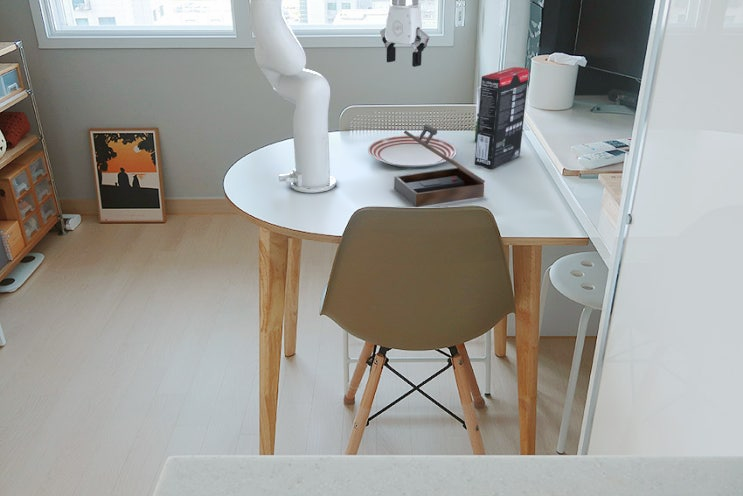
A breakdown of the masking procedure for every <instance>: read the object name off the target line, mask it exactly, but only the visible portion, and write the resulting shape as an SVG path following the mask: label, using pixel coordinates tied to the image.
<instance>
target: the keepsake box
mask: <svg viewBox="0 0 743 496" xmlns="http://www.w3.org/2000/svg"><path fill="white" fill-rule="evenodd" d="M452 176H457V177H458V178H460V179H461V180H463V181H464V186H461V187H454V188H448V189H441V190H434V191H428V192H421V193H417V192H416V191H415V190H413V189H412V188H411V187H410V186H408V185H407V184H406V183H410V182H417V181H424V180H431V179H438V178H445V177H452ZM393 189H394V190H395V191H396V192H398V194H399V195H401V196H402V197H403V198H405V199H406V200H407V201H408V202H409V203H410V204H411V205H412V206H414V207H415V208H421V207H427V206H433V205H440V204H445V203H447V204H448V203H452V202H458V201H459V202H460V201H464V200H472V199H478V198H483V197H484V194H485V183H484V184H483V183H482V182H480V181H478V180H477V179H475V178H474V177H472V176H470V175H469V174H467V173H466V172H464V171H462V170H461V169H459V168H458V167H451V168H443V169H437V170H429V171H422V172H421V171H420V172H415V173H408V174H401V175H394V177H393Z"/></svg>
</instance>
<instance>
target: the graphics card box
mask: <svg viewBox="0 0 743 496" xmlns="http://www.w3.org/2000/svg"><path fill="white" fill-rule="evenodd" d="M529 73H530V69H529V68H526V67H519V66H512V67H508V68H505V69H502V70H499V71H496V72H492V73H489V74H485V75H482V76H481V81H480V86H481V92H480V104H479V116H478V128H477V141H476V142H475V154H474V165H475V166H479V167H482V168H485V169H489V170H494V169H495V168H498V167H501V166H502V165H505V164H507V163H509V162H511V161H514V160H515V159H517V158H520V156H521V155H520V154H521V148H522V147H521V146H522V139H523V138H522V137H523V128H524V120H525V111H526V103H527V102H526V101H527V91H528V82H529Z"/></svg>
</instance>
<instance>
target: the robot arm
mask: <svg viewBox="0 0 743 496" xmlns="http://www.w3.org/2000/svg"><path fill="white" fill-rule="evenodd" d="M283 5H284V0H250V2H249V7H248V9H249V10H248V23H249V27H250V29H251V32H252V33H253V35H254V37H255V38H256V42H255V45H254V49H253V51H254V52H253V55H254V59H255V62H256V64H257V66H258V68H259V69H260V70H261V72H262V74H263V75H264V77H265V78H266V79H267V81H268V82H269V84H270V85H271V86H272V88H273V90H274V91H275V92H276V93H277V95H278V96H279V97H280V98H282V99H283V100H285V101H286V102H289V103H292V104H294V105H295V109H294V113H293V117H292V133H293V150H294V167H295V168H292V171H291V172H289V173H285V174H284V173H283V174H278V181H279V182H280V183H281V182H285V184H290V187H291V189H293V190H294V191H297V192H301V193H307V194H309V193H311V194H312V193H314V194H315V193H322V192H326V191H329V190H332V189H333V188H335V187H336V186H337V181H336V178H334V177H333V176H331V165H330V138H329V107H330V101H331V88H330V87H331V86H330V84H329V82H328V80H327V78H325V76H323V74H320V73H319V72H316V71H313V70H310V69H306V65H307V57H306V52H305V50H304V48H303V47H302V45H301V43H300V42H299V40H298V39H297V37H296V36H295V34H294V32H293V31H292V29H291V27H290V26H289V24H288V22H287V20H286V18H285V16H284V12H283ZM379 33H380V36H381V41H382V42H383V44H384V48H386V63H392V62H396V56H397V55H396V49H397V48H396V46H395V45H396V44H398V45H405V46H409V45H410V46H411V47H412V49H413V51H412V61H411V62H412V63H411V66H412V67H413V68H415V67H420V66H422V53H423V52H424V51H425V49H426V47H427V46H428V43H429V41H430V36H429V35H428V34H427V33H426V32H424V31H423V24H422V13H421V7H420V6H419V0H390V4H389V5H388V9H387V13H386V21H385V27H384V28H382V29H381V30H380V31H379Z"/></svg>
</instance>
